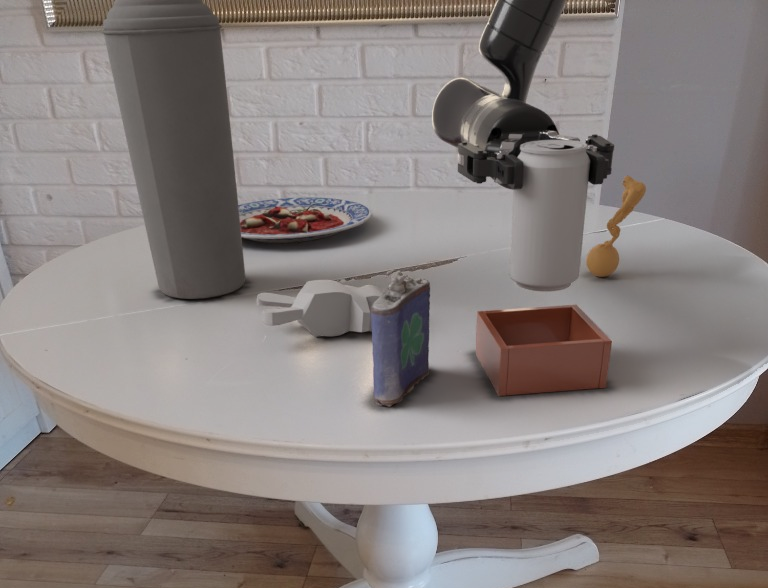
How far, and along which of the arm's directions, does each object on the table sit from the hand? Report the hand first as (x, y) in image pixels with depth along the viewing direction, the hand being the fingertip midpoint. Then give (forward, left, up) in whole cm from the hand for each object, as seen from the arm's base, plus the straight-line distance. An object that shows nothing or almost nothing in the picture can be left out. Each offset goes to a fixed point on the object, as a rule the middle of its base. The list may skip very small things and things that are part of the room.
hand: (560, 174), depth 67 cm
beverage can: (+1, -2, -10) cm, 10 cm away
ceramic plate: (+44, -48, -18) cm, 68 cm away
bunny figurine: (+24, -6, -18) cm, 30 cm away
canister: (+45, -18, -18) cm, 51 cm away
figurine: (-5, -30, -18) cm, 36 cm away
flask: (+13, +7, -18) cm, 23 cm away
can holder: (+1, +1, -18) cm, 18 cm away
